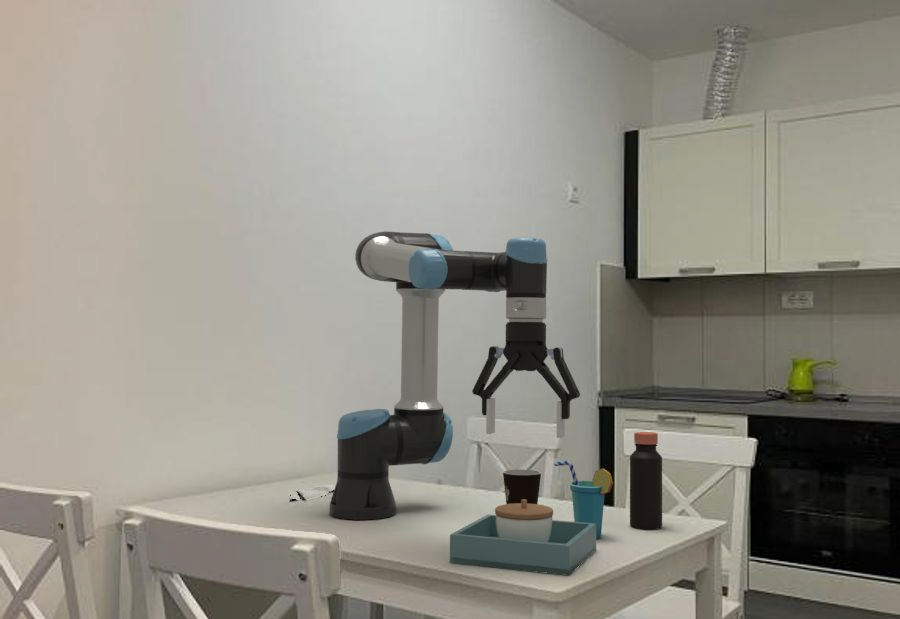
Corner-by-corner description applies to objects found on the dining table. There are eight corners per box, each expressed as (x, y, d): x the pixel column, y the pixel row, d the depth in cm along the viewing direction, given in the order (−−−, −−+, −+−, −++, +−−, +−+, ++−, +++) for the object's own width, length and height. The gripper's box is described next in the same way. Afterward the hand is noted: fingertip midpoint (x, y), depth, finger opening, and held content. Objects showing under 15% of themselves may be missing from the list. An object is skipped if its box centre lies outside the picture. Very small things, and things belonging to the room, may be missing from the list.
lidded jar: (536, 560, 160) (536, 507, 161) (484, 552, 166) (484, 501, 166) (562, 548, 169) (562, 498, 170) (512, 541, 175) (512, 492, 175)
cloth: (328, 486, 247) (328, 478, 247) (366, 491, 239) (366, 483, 239) (256, 500, 226) (257, 491, 226) (296, 507, 218) (296, 497, 218)
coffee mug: (538, 521, 199) (539, 475, 199) (500, 519, 201) (500, 474, 201) (544, 511, 210) (544, 468, 211) (507, 509, 212) (507, 466, 212)
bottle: (667, 529, 191) (667, 434, 192) (636, 530, 190) (636, 435, 191) (654, 523, 198) (654, 431, 199) (625, 523, 197) (625, 431, 197)
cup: (545, 534, 186) (545, 461, 186) (563, 528, 192) (564, 457, 193) (606, 544, 178) (606, 467, 178) (624, 537, 184) (624, 463, 184)
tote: (449, 562, 163) (450, 534, 163) (487, 539, 181) (487, 514, 181) (569, 575, 154) (569, 546, 154) (596, 549, 173) (596, 523, 173)
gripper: (456, 320, 170) (455, 433, 170) (586, 321, 161) (586, 441, 160) (470, 320, 177) (469, 429, 177) (596, 321, 168) (595, 436, 167)
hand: (525, 435), depth 169 cm, fingers open, 13 cm apart
